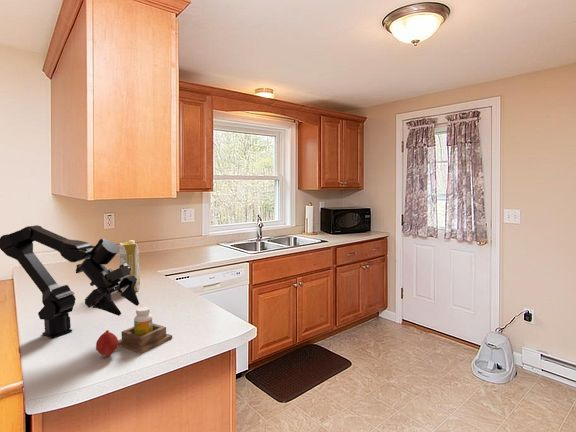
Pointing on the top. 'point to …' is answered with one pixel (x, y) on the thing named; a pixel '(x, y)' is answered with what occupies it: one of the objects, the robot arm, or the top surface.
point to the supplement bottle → (143, 321)
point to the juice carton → (130, 259)
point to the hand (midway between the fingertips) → (129, 309)
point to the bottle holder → (143, 339)
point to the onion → (107, 343)
